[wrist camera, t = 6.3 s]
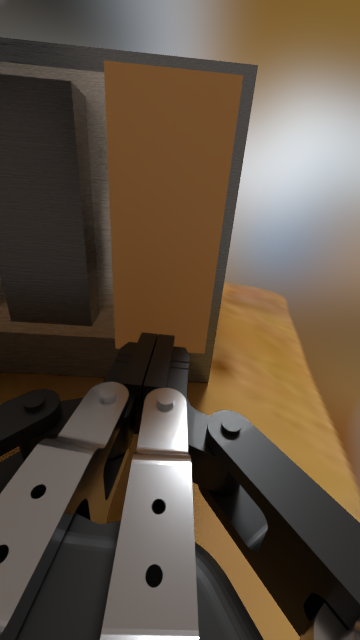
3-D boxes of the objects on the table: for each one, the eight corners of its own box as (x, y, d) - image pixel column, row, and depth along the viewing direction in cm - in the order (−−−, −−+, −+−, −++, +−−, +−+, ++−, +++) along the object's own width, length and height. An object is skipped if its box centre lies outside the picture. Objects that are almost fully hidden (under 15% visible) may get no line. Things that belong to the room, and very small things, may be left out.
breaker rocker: (115, 348, 14) (103, 60, 9) (124, 325, 17) (119, 89, 12) (204, 353, 15) (243, 75, 9) (200, 329, 17) (229, 100, 12)
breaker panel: (-94, 389, 18) (-301, -26, 10) (-16, 332, 26) (-92, 70, 17) (211, 403, 19) (274, 39, 11) (201, 344, 27) (233, 103, 18)
